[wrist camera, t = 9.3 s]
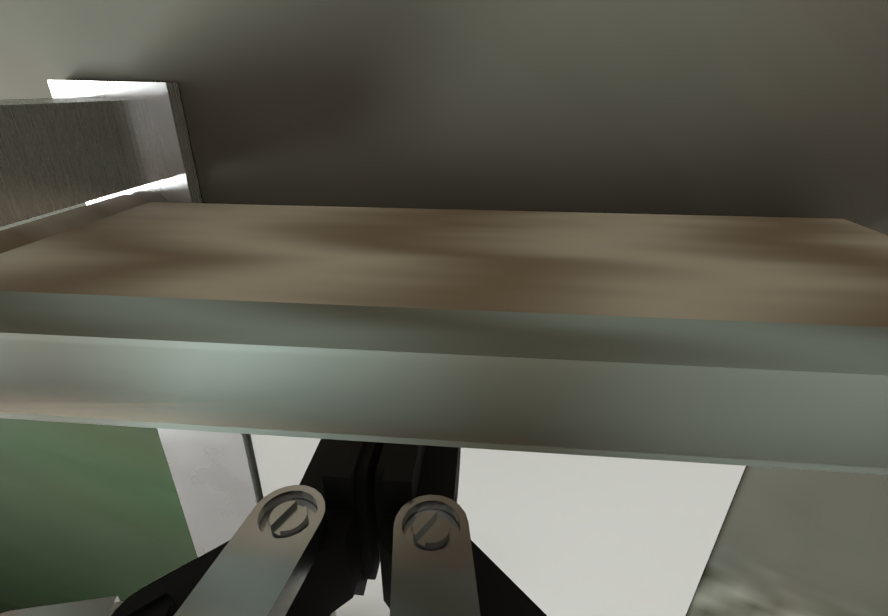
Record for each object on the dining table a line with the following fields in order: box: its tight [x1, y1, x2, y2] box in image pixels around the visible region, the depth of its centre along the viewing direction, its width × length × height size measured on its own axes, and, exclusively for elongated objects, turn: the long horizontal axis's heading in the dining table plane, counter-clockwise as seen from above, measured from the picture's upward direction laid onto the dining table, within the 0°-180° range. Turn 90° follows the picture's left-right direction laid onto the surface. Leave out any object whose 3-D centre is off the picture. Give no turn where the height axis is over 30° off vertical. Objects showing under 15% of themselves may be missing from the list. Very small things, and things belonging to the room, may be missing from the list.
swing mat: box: [251, 434, 746, 616], centre depth 17 cm, size 18×17×1 cm
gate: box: [0, 194, 888, 475], centre depth 9 cm, size 19×2×7 cm, turn 90°
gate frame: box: [0, 80, 263, 557], centre depth 14 cm, size 25×3×8 cm, turn 179°
